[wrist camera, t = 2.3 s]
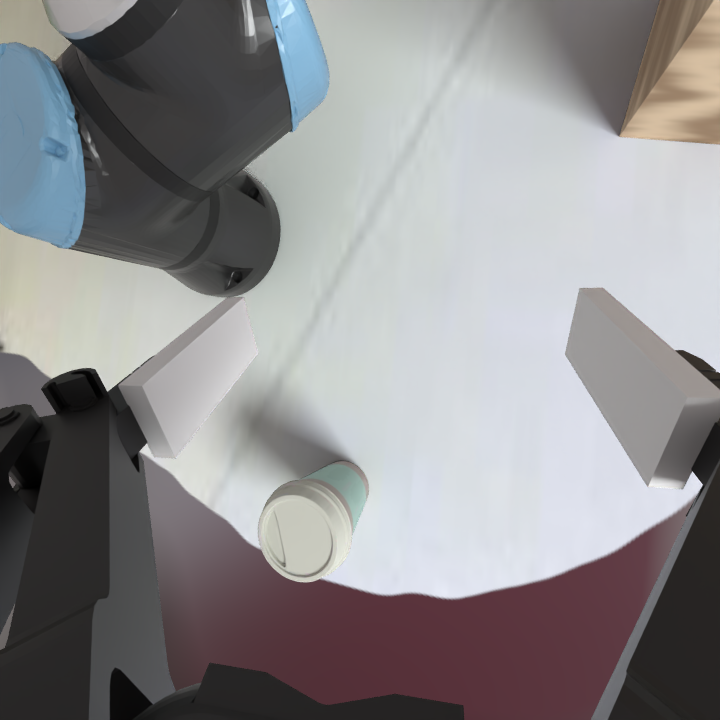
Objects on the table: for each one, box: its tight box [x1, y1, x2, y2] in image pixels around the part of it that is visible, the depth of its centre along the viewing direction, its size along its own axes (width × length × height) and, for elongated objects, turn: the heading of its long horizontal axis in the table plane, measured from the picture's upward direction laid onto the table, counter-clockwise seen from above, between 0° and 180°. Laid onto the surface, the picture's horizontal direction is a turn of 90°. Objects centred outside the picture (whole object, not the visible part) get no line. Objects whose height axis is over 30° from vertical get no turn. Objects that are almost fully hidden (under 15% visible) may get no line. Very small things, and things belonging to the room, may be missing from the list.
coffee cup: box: [258, 461, 369, 582], centre depth 37 cm, size 9×8×12 cm
